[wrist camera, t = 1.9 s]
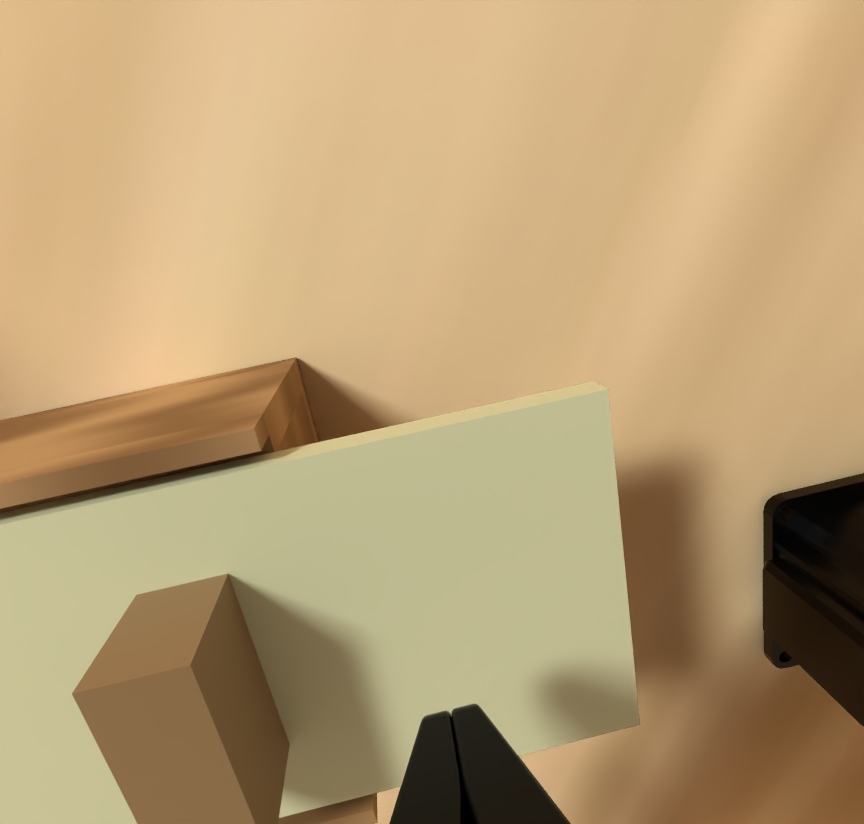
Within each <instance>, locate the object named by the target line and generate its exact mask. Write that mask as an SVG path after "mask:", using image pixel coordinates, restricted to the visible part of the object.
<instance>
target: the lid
mask: <svg viewBox="0 0 864 824" xmlns="http://www.w3.org/2000/svg"><path fill="white" fill-rule="evenodd" d="M470 704H478V705H479V706H480V707H481V708H482V710H483V711H484V712H485V713H486V715H487V716H488V717H489V719H490V720H491V721H492V723H493V724H494V725H495V726H496V728H497V729H498V730H499V732H500V733H501V734H502V735H503V737H504V738H505V739H506V741H507V742H508V743H509V745H510V746H511V747H512V748H513V750H514V751H515V752H516V754H517V755H518V756H520V755H524V754H528V753H532V752H536V751H540V750H544V749H547V748H551V747H555V746H559V745H563V744H567V743H571V742H575V741H578V740H582V739H586V738H590V737H594V736H598V735H602V734H605V733H609V732H613V731H617V730H621V729H625V728H629V727H632V726H636V725H640V719H639V708H638V698H637V687H636V677H635V666H634V656H633V645H632V635H631V624H630V614H629V604H628V593H627V583H626V572H625V562H624V551H623V541H622V530H621V520H620V510H619V499H618V489H617V478H616V468H615V457H614V447H613V436H612V426H611V416H610V405H609V395H608V389H607V388H605V387H603V386H602V385H600V384H598V383H597V382H595V381H592V382H587V383H583V384H578V385H574V386H569V387H565V388H560V389H556V390H551V391H547V392H542V393H538V394H533V395H529V396H524V397H520V398H515V399H511V400H506V401H502V402H497V403H493V404H488V405H484V406H479V407H475V408H470V409H466V410H461V411H457V412H452V413H448V414H443V415H439V416H434V417H430V418H425V419H421V420H416V421H412V422H407V423H403V424H398V425H394V426H389V427H385V428H380V429H376V430H371V431H367V432H362V433H358V434H353V435H349V436H344V437H340V438H335V439H331V440H326V441H322V442H317V443H313V444H308V445H304V446H299V447H295V448H290V449H285V450H281V451H276V452H272V453H267V454H263V455H258V456H254V457H249V458H245V459H240V460H236V461H231V462H227V463H222V464H218V465H213V466H209V467H204V468H200V469H195V470H191V471H186V472H182V473H177V474H173V475H168V476H164V477H159V478H155V479H150V480H146V481H141V482H137V483H132V484H128V485H123V486H119V487H114V488H110V489H105V490H101V491H96V492H92V493H87V494H83V495H78V496H74V497H69V498H65V499H60V500H56V501H51V502H47V503H42V504H38V505H33V506H29V507H24V508H20V509H15V510H11V511H6V512H2V513H0V824H278V820H279V818H281V817H285V816H289V815H293V814H296V813H300V812H304V811H308V810H312V809H316V808H320V807H324V806H327V805H331V804H335V803H339V802H343V801H347V800H351V799H354V798H358V797H362V796H366V795H370V794H374V793H378V792H381V791H385V790H389V789H393V788H397V787H401V785H402V782H403V778H404V775H405V772H406V769H407V765H408V762H409V759H410V756H411V752H412V749H413V746H414V743H415V739H416V736H417V733H418V730H419V726H420V723H421V721H422V719H423V717H424V716H426V715H429V714H433V713H437V712H441V711H449V712H450V714H451V712H452V710H453V709H454V708H458V707H462V706H466V705H470Z"/></svg>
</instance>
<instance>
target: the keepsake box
mask: <svg viewBox="0 0 864 824" xmlns="http://www.w3.org/2000/svg"><path fill="white" fill-rule="evenodd" d="M317 442H320V441H319V438H318V434H317V430H316V427H315V423H314V419H313V416H312V412H311V409H310V405H309V401H308V398H307V394H306V390H305V387H304V383H303V380H302V376H301V372H300V369H299V365H298V361H297V358H292V359H287V360H283V361H278V362H273V363H268V364H264V365H259V366H254V367H250V368H245V369H240V370H236V371H231V372H226V373H221V374H217V375H212V376H207V377H203V378H198V379H193V380H189V381H184V382H179V383H174V384H170V385H165V386H160V387H156V388H151V389H146V390H142V391H137V392H132V393H128V394H123V395H118V396H113V397H109V398H104V399H99V400H95V401H90V402H85V403H81V404H76V405H71V406H66V407H62V408H57V409H52V410H48V411H43V412H38V413H34V414H29V415H24V416H19V417H15V418H10V419H5V420H1V421H0V513H2V512H6V511H11V510H15V509H20V508H24V507H29V506H33V505H38V504H42V503H47V502H51V501H56V500H60V499H65V498H69V497H74V496H78V495H83V494H87V493H92V492H96V491H101V490H105V489H110V488H114V487H119V486H123V485H128V484H132V483H137V482H141V481H146V480H150V479H155V478H159V477H164V476H168V475H173V474H177V473H182V472H186V471H191V470H195V469H200V468H204V467H209V466H213V465H218V464H222V463H227V462H231V461H236V460H240V459H245V458H249V457H254V456H258V455H263V454H267V453H272V452H276V451H281V450H285V449H290V448H295V447H299V446H304V445H308V444H313V443H317ZM375 823H377V793H374V794H370V795H366V796H362V797H358V798H354V799H351V800H347V801H343V802H339V803H335V804H331V805H327V806H324V807H320V808H316V809H312V810H308V811H304V812H300V813H296V814H293V815H289V816H285V817H281V818H279V820H278V824H375Z"/></svg>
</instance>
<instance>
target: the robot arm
mask: <svg viewBox="0 0 864 824" xmlns="http://www.w3.org/2000/svg"><path fill="white" fill-rule="evenodd" d="M785 507H786V509H785V511H784V512H783V513H782V514H780V513H781V511H782V510H783V509H784V508H785ZM763 517H764V567H763V629H764V653H765V656H766V657H767V658H768V659H769V660H770V661H771V662H772V663H773V664H774V665H775V666H776V667H778V668H788V667H792V666H796V665H800V666H801V667H802V668H803V669H804V670H805V671H806V672H807V673H808V674H809V675H810V676H811V677H812V678H813V679H814V680H815V681H816V682H817V683H819V684H820V685H821V686H822V687H823V688H824V689H825V690H826V691H827V692H828V693H829V694H830V695H831V696H832V697H833V698H834V699H835V700H836V701H837V702H838V703H839V704H840V705H841V706H842V707H843V708H844V709H845V710H846V711H848V712H849V713H850V714H851V715H852V716H853V717H854V718H855V719H856V720H857V721H858V722H859V723H860V724H861V725H862V726H864V473H863V474H859V475H855V476H851V477H846V478H842V479H838V480H834V481H830V482H825V483H821V484H817V485H813V486H809V487H804V488H800V489H796V490H792V491H788V492H783V493H779V494H777V495H774V496H772V497H771V498H770V499H769V500H768V501H767V503H766V504H765V506H764V511H763ZM390 824H571V823H570V822H569V821H568V820H567V818H566V817H565V816H564V814H563V813H562V812H561V810H560V809H559V808H558V807H557V805H556V804H555V803H554V801H553V800H552V799H551V798H550V796H549V795H548V794H547V792H546V791H545V790H544V789H543V787H542V786H541V785H540V783H539V782H538V781H537V779H536V778H535V777H534V776H533V774H532V773H531V772H530V770H529V769H528V768H527V767H526V765H525V764H524V763H523V761H522V760H521V759H520V757H519V756H518V755H517V754H516V752H515V751H514V750H513V748H512V747H511V746H510V745H509V743H508V742H507V741H506V739H505V738H504V737H503V735H502V734H501V733H500V732H499V730H498V729H497V728H496V726H495V725H494V724H493V723H492V721H491V720H490V719H489V717H488V716H487V715H486V713H485V712H484V711H483V710H482V708H481V707H480V706H479V705H478V704H470V705H466V706H462V707H458V708H454V709H453V710H452V712H451V714H450V712H449V711H441V712H437V713H433V714H429V715H426V716H424V717H423V719H422V721H421V723H420V726H419V730H418V733H417V736H416V739H415V743H414V746H413V749H412V752H411V756H410V759H409V762H408V765H407V769H406V772H405V775H404V778H403V782H402V785H401V788H400V791H399V795H398V798H397V801H396V804H395V808H394V811H393V814H392V817H391V821H390Z"/></svg>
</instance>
